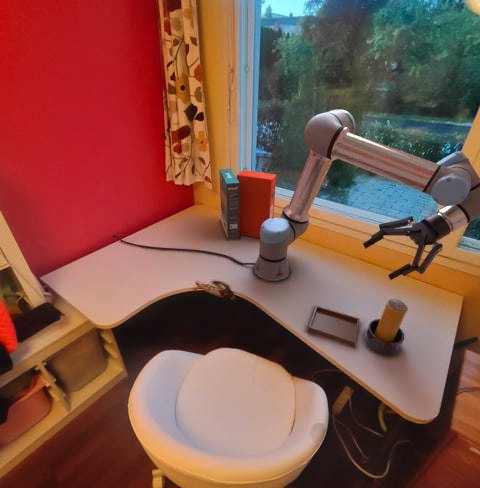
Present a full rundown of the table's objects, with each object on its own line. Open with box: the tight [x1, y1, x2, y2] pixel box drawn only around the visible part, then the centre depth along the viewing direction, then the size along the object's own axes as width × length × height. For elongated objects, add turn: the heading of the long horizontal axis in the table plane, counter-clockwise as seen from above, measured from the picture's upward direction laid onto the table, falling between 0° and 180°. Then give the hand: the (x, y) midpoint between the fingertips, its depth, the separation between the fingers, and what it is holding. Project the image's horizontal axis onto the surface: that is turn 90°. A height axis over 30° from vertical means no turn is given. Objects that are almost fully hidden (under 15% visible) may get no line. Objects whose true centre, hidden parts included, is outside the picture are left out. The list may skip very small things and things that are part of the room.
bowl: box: [364, 318, 405, 357], centre depth 92 cm, size 10×10×6 cm
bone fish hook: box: [195, 279, 236, 301], centre depth 113 cm, size 9×5×18 cm
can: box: [374, 298, 409, 343], centre depth 89 cm, size 6×6×16 cm
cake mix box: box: [218, 168, 240, 240], centre depth 149 cm, size 22×6×30 cm, turn 12°
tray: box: [307, 305, 360, 348], centre depth 98 cm, size 15×12×2 cm
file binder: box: [236, 169, 277, 239], centre depth 145 cm, size 8×17×32 cm, turn 68°
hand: (376, 261), depth 90 cm, fingers open, 13 cm apart
